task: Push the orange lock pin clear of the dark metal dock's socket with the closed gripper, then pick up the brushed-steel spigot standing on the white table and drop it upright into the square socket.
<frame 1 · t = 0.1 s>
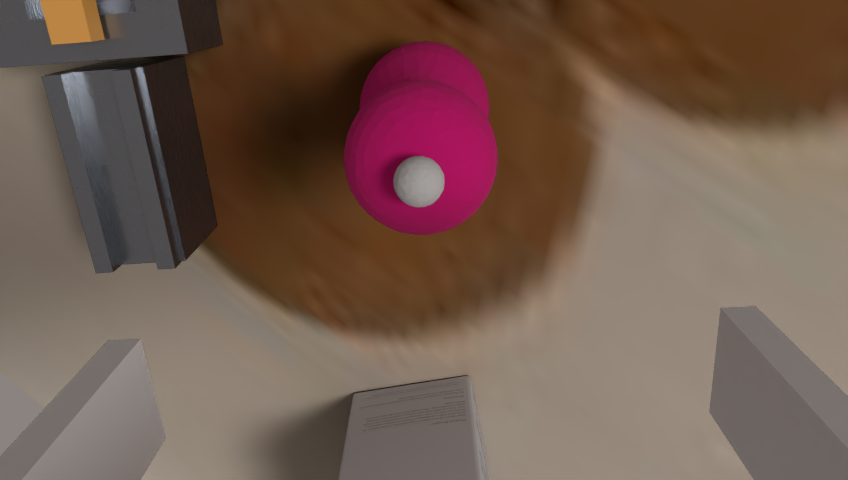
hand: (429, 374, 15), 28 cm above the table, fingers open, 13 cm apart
pepper mill: (425, 96, 40), on the table
supplement box: (422, 430, 49), on the table
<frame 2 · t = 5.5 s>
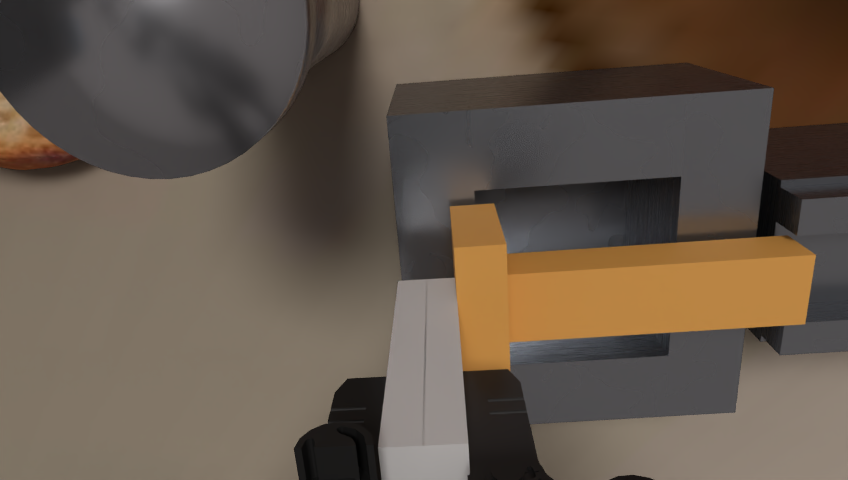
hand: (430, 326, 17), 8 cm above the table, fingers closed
dock: (542, 210, 24), on the table
lock pin: (633, 303, 17), point 8 cm above the table, slide at 1.7 cm, touching gripper
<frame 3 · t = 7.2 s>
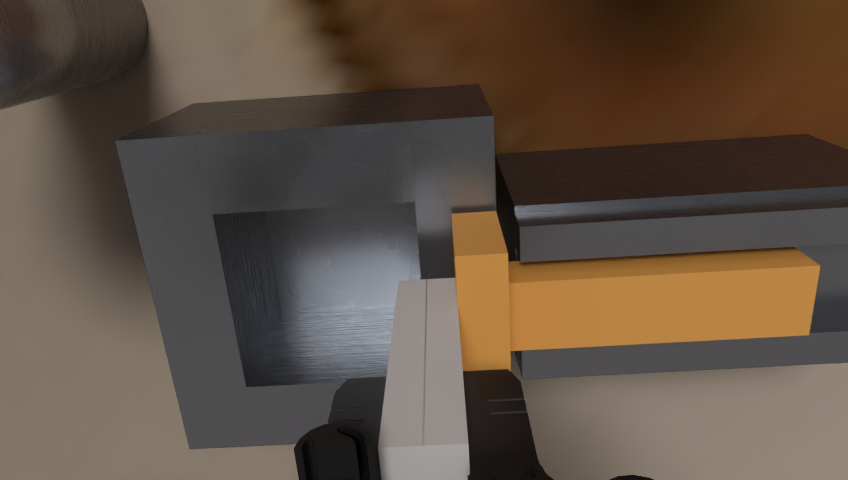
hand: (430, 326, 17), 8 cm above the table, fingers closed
dock: (350, 228, 24), on the table
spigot: (87, 19, 22), on the table
lock pin: (635, 312, 17), point 8 cm above the table, slide at 9.0 cm, touching gripper
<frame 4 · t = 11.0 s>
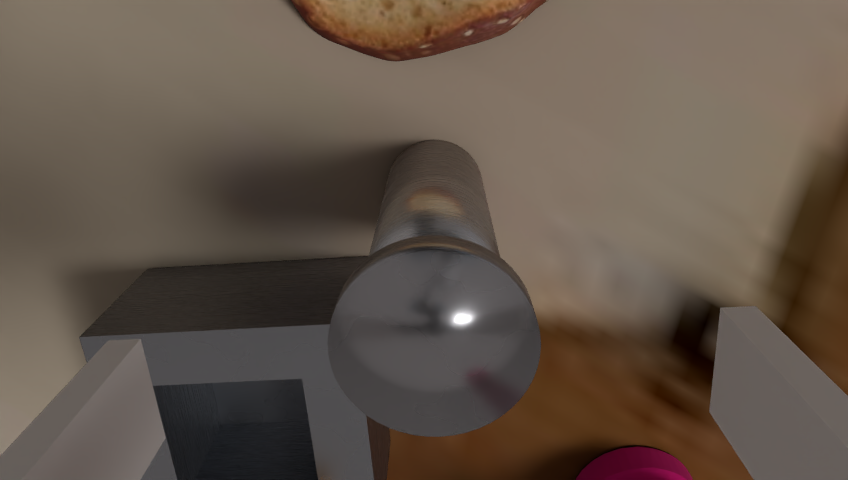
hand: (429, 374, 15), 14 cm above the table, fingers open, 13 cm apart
dock: (275, 359, 31), on the table
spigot: (434, 186, 27), on the table
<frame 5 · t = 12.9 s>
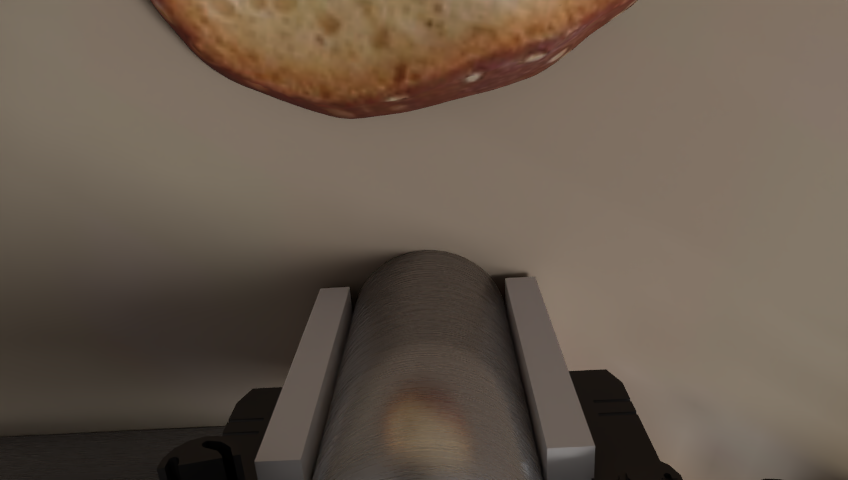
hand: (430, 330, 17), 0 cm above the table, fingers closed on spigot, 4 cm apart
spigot: (429, 321, 17), on the table, touching gripper
when the fingers open (7 cm above the table, at t = 18.0 s): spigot drops 5 cm, resting on dock.
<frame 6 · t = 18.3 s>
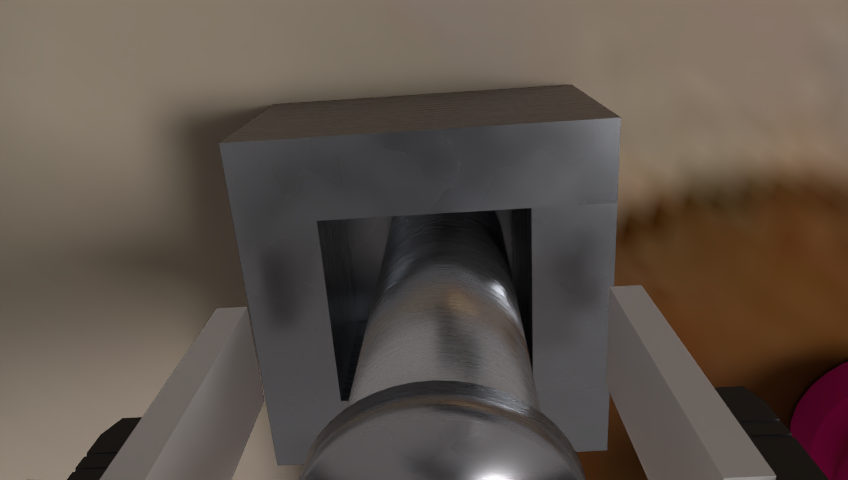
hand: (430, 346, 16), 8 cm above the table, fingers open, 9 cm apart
dock: (431, 234, 23), on the table
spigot: (445, 243, 22), point 1 cm above the table, touching dock
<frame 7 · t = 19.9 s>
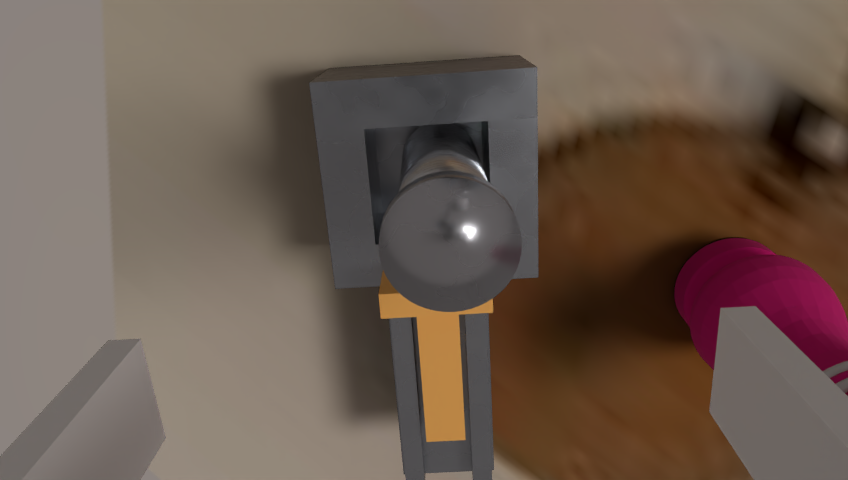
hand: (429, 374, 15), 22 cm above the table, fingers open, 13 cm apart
pepper mill: (725, 284, 39), on the table
dock: (430, 155, 36), on the table
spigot: (439, 158, 35), point 1 cm above the table, touching dock
lock pin: (440, 364, 31), point 8 cm above the table, slide at 9.1 cm
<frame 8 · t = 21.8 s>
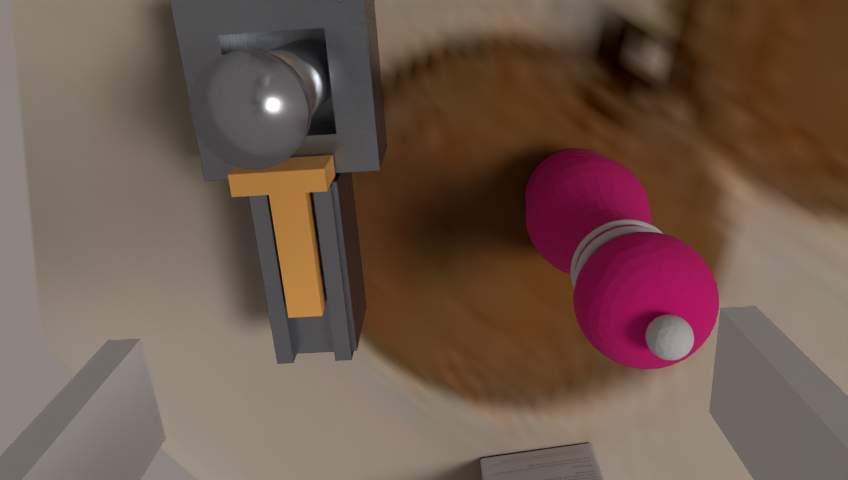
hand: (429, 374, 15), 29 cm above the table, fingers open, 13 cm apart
pepper mill: (571, 193, 43), on the table
dock: (300, 72, 41), on the table
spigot: (305, 73, 40), point 1 cm above the table, touching dock
lock pin: (294, 244, 36), point 8 cm above the table, slide at 9.1 cm
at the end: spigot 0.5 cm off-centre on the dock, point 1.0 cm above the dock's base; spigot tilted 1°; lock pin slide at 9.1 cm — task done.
